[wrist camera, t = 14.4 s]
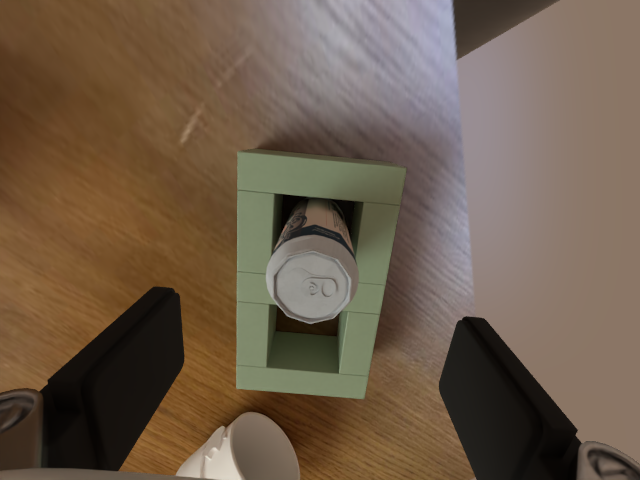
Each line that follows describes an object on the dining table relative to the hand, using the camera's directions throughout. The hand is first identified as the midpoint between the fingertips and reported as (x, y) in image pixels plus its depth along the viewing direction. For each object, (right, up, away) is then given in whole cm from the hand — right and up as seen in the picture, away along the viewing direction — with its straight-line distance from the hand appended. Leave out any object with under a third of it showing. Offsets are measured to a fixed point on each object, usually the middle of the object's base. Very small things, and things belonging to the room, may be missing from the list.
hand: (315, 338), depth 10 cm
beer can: (0, +5, +16) cm, 17 cm away
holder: (-1, +1, +17) cm, 17 cm away
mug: (-8, -20, +25) cm, 33 cm away
